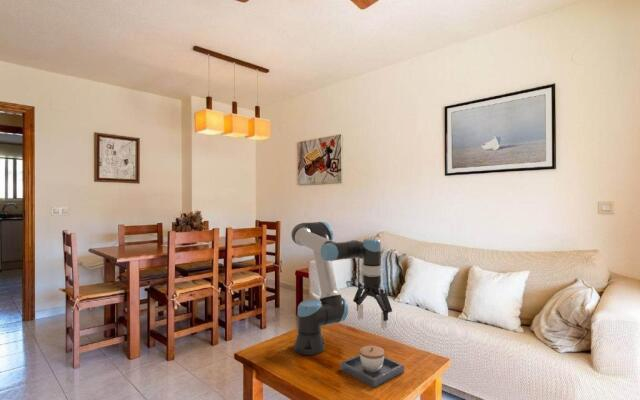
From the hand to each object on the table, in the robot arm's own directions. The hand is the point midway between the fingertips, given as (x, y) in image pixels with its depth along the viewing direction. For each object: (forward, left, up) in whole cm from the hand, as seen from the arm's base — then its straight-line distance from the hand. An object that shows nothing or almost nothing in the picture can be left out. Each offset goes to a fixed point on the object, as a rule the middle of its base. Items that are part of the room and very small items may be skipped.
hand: (371, 323), depth 152 cm
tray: (0, 0, -21) cm, 21 cm away
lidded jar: (0, 0, -20) cm, 20 cm away
